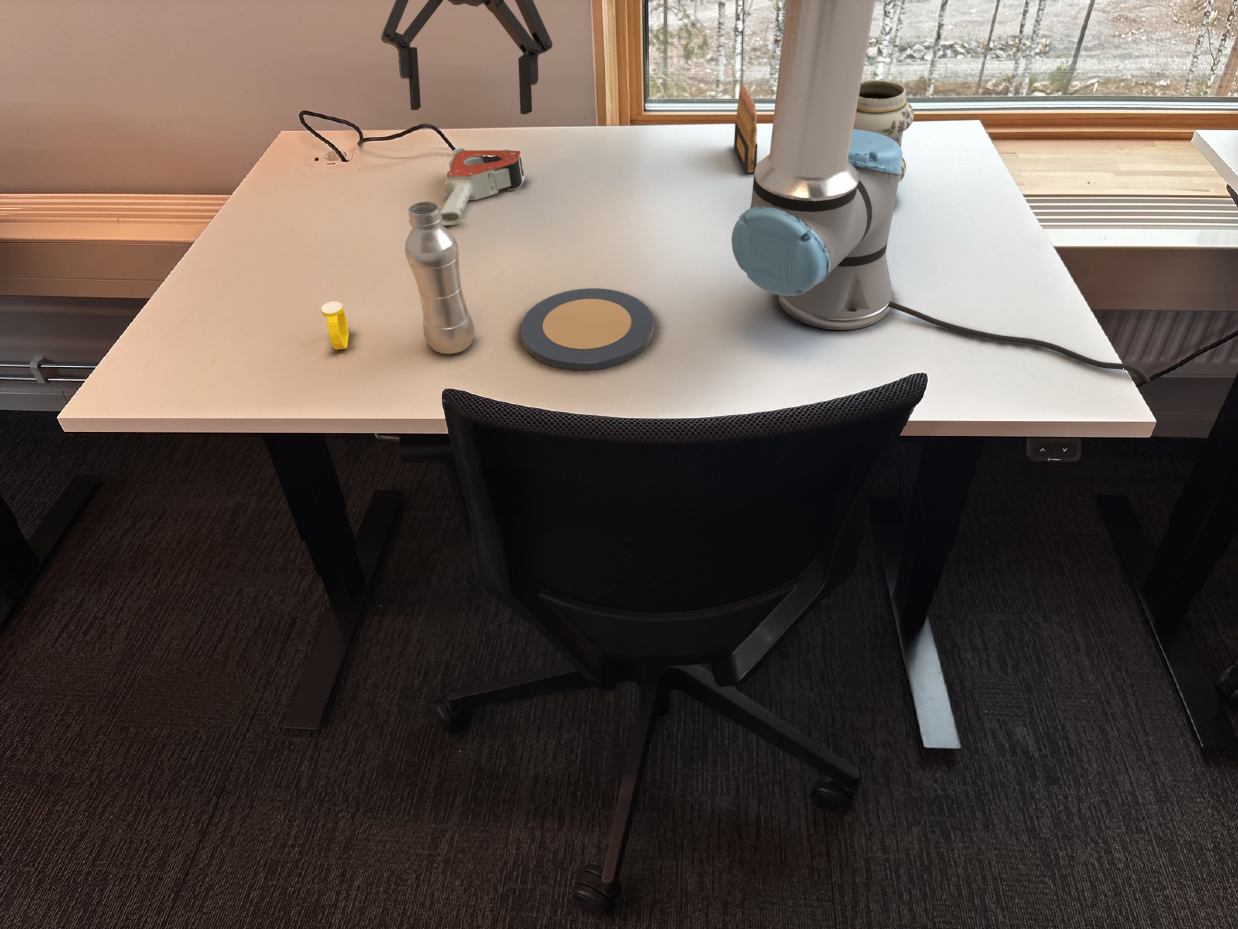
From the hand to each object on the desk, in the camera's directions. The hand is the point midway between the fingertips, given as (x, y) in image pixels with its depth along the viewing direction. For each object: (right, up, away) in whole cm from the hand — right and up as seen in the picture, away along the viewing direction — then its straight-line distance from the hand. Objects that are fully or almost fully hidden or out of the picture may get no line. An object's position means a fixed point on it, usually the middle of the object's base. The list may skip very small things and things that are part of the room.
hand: (472, 111), depth 109 cm
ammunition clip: (+40, +11, +50) cm, 65 cm away
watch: (-20, -27, +13) cm, 36 cm away
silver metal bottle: (-5, -27, +12) cm, 30 cm away
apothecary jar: (+57, 0, +37) cm, 68 cm away
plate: (+14, -25, +13) cm, 31 cm away
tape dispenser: (-7, +3, +44) cm, 45 cm away
